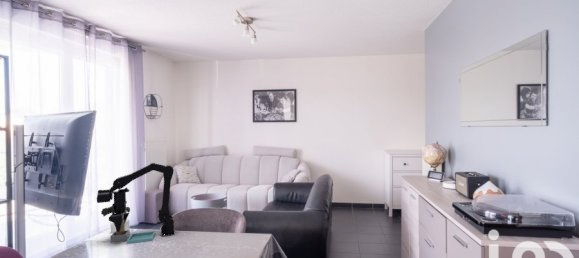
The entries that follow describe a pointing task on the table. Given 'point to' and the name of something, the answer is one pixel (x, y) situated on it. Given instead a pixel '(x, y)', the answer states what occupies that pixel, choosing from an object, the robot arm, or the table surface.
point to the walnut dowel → (122, 230)
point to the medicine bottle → (113, 228)
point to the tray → (141, 237)
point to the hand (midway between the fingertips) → (120, 229)
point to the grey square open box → (119, 237)
